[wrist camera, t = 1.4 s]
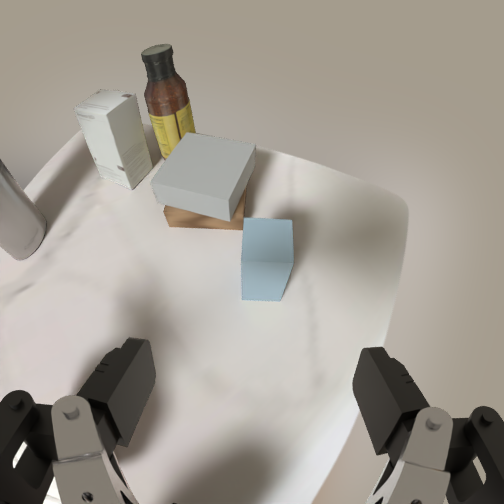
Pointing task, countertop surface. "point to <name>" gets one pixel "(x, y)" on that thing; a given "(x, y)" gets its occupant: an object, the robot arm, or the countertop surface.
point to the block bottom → (205, 218)
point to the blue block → (266, 258)
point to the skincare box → (115, 136)
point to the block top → (205, 175)
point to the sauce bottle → (166, 99)
